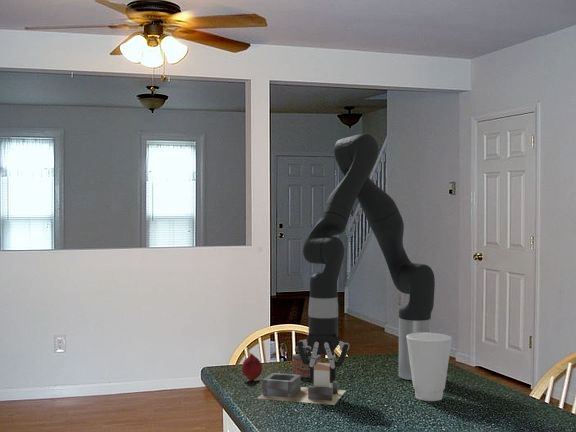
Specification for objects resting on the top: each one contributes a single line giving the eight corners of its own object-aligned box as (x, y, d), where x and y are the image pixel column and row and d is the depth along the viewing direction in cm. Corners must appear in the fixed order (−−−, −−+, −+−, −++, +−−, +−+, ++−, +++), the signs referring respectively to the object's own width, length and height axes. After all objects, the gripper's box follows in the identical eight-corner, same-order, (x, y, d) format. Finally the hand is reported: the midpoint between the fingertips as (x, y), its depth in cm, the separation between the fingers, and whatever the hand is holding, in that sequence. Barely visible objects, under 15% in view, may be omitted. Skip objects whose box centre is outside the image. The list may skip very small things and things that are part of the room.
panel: (346, 396, 186) (346, 375, 186) (334, 410, 173) (334, 388, 173) (273, 390, 192) (273, 370, 192) (256, 404, 178) (256, 382, 178)
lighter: (320, 380, 203) (320, 345, 203) (320, 383, 200) (320, 348, 199) (292, 379, 204) (292, 345, 204) (291, 382, 200) (291, 347, 200)
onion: (265, 379, 204) (265, 351, 204) (257, 384, 198) (257, 355, 198) (246, 377, 206) (246, 350, 206) (238, 382, 200) (238, 354, 200)
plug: (332, 394, 182) (332, 363, 182) (329, 398, 178) (329, 367, 178) (317, 393, 183) (317, 362, 183) (313, 397, 179) (313, 365, 179)
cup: (401, 401, 182) (402, 338, 181) (410, 389, 193) (410, 331, 192) (448, 405, 177) (449, 342, 177) (454, 393, 189) (455, 334, 188)
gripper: (353, 313, 182) (353, 380, 182) (300, 311, 186) (300, 376, 186) (347, 318, 175) (347, 387, 175) (292, 315, 179) (292, 383, 179)
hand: (323, 381), depth 181 cm, fingers closed on plug, 4 cm apart
